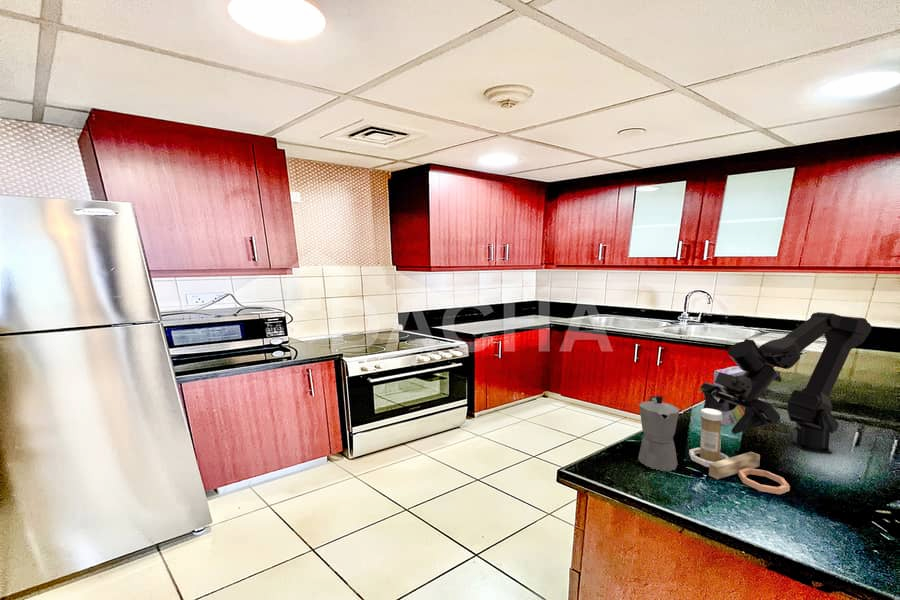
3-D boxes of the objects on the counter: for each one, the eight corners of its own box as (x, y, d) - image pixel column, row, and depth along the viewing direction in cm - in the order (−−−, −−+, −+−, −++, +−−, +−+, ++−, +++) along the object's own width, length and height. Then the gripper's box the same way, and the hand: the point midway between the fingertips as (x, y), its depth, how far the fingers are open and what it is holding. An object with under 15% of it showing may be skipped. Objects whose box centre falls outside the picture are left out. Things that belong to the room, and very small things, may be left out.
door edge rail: (750, 462, 98) (751, 451, 98) (759, 466, 96) (759, 455, 96) (708, 475, 92) (709, 463, 92) (717, 479, 90) (717, 467, 90)
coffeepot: (685, 478, 91) (687, 406, 89) (642, 473, 94) (644, 402, 92) (669, 449, 105) (671, 387, 104) (632, 445, 108) (633, 384, 107)
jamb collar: (724, 455, 102) (724, 451, 102) (734, 471, 94) (734, 466, 94) (687, 449, 105) (687, 445, 105) (693, 464, 97) (693, 460, 97)
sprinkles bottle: (723, 461, 99) (725, 411, 98) (715, 466, 96) (717, 415, 95) (703, 454, 103) (705, 406, 102) (696, 458, 100) (697, 409, 99)
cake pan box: (724, 427, 120) (726, 373, 119) (708, 421, 124) (710, 369, 123) (759, 417, 127) (762, 366, 126) (742, 412, 132) (745, 363, 131)
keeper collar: (778, 477, 91) (778, 472, 91) (794, 497, 83) (795, 492, 83) (735, 470, 94) (735, 465, 94) (746, 488, 86) (746, 483, 86)
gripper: (706, 354, 108) (671, 394, 107) (773, 371, 90) (732, 419, 88) (728, 380, 110) (694, 419, 109) (798, 401, 92) (758, 449, 90)
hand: (716, 425), depth 99 cm, fingers open, 9 cm apart
